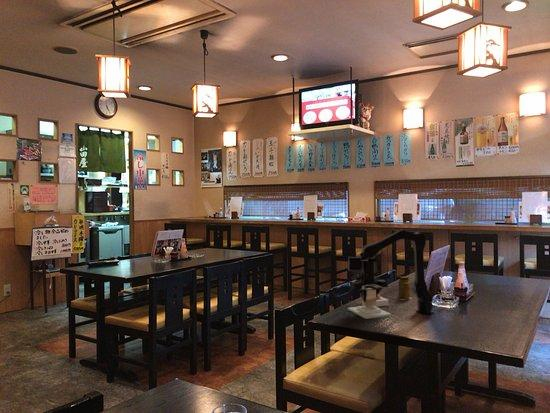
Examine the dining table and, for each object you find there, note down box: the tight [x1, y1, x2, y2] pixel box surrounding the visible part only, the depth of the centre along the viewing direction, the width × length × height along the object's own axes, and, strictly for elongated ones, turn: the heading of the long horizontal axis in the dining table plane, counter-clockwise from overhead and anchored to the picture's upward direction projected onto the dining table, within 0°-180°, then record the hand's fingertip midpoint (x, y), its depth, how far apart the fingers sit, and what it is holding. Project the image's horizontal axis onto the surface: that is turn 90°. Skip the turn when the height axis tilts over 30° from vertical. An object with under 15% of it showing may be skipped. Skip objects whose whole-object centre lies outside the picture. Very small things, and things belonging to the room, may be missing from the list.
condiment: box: [392, 275, 413, 301], centre depth 246 cm, size 7×8×12 cm
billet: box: [361, 287, 376, 307], centre depth 216 cm, size 5×5×8 cm
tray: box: [347, 305, 392, 320], centre depth 216 cm, size 18×14×2 cm
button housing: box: [375, 296, 390, 308], centre depth 233 cm, size 10×10×3 cm
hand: (369, 301), depth 216 cm, fingers closed on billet, 5 cm apart
